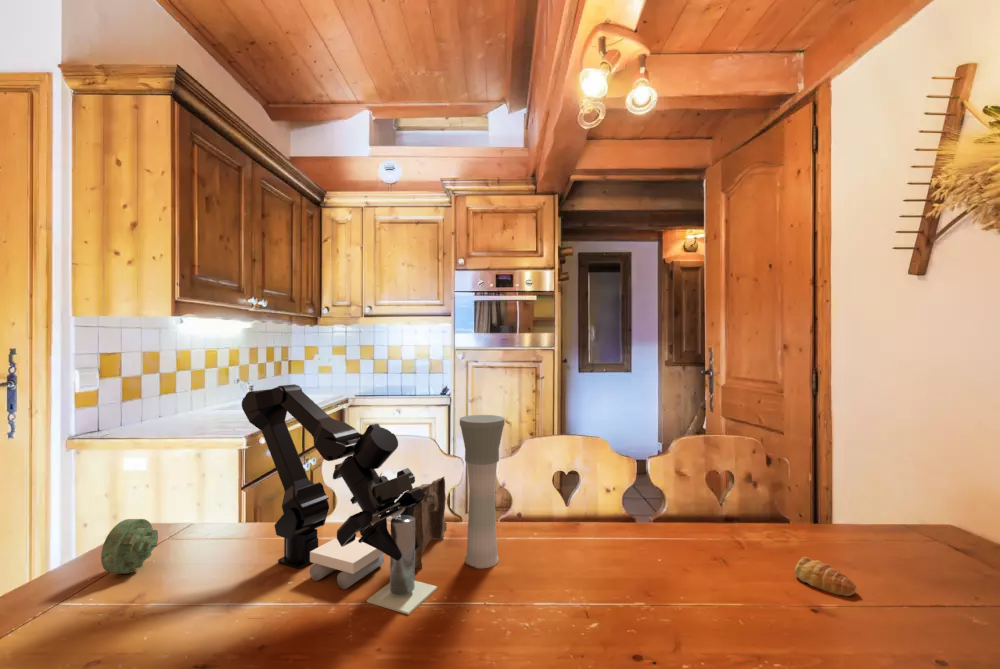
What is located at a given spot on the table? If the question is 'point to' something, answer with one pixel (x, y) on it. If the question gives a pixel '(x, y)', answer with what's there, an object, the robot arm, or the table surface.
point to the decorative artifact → (128, 546)
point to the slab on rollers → (345, 561)
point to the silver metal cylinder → (403, 555)
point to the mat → (402, 598)
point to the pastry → (824, 577)
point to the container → (481, 486)
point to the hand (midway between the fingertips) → (408, 553)
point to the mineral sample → (429, 516)
